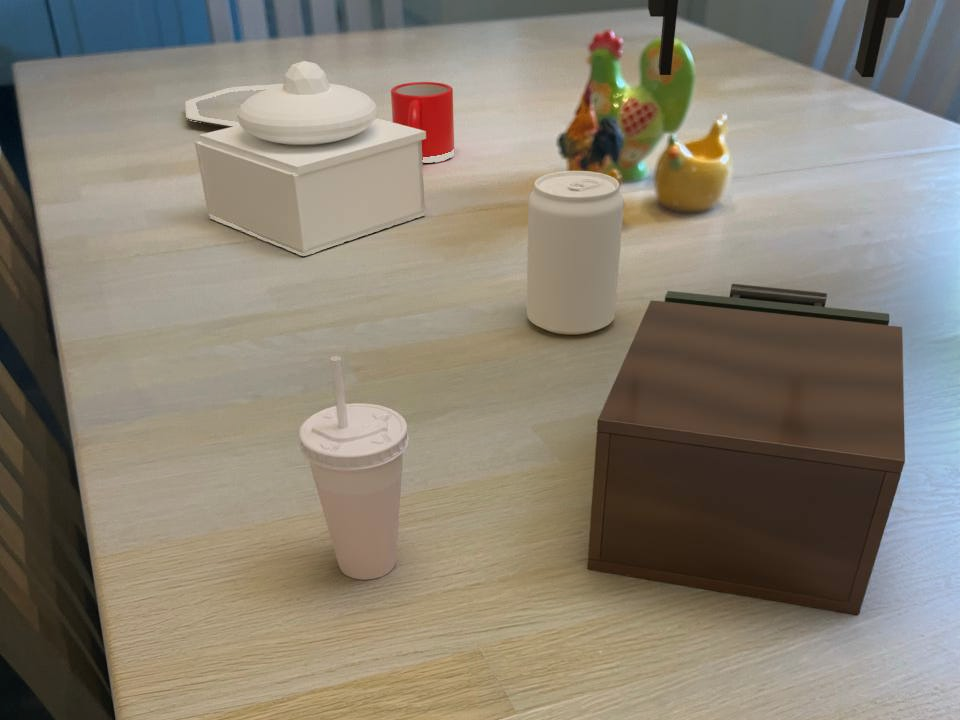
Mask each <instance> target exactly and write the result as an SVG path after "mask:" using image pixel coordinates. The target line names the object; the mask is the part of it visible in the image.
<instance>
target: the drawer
mask: <svg viewBox="0 0 960 720" xmlns="http://www.w3.org/2000/svg"><path fill="white" fill-rule="evenodd" d="M827 297H828V293H827V292H821V291H811V290H801V289H790V288H782V287H770V286H763V285H762V286H761V285H752V284H751V285H750V284H742V283H731V286H730V291H729V296H721V295H711V294H703V293H692V292H684V291H683V292H682V291H674V290H673V291H672V290H667V292H666V294H665V296H664V302H672V303H682V304H691V305H701V306H710V307H719V308H729V309H738V310H748V311H757V312H766V313H776V314H785V315H795V316H804V317H814V318H823V319H832V320H842V321H851V322H861V323H870V324H879V325H889V326H890V313H885V312H875V311H866V310H857V309H848V308H837V307H827V306H826V302H827Z"/></svg>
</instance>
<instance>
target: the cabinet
mask: <svg viewBox="0 0 960 720" xmlns="http://www.w3.org/2000/svg"><path fill="white" fill-rule="evenodd" d="M903 337H904V336H903V326H897V325H890V324H889V325H879V324H870V323H861V322H851V321H842V320H832V319H823V318H814V317H804V316H795V315H785V314H776V313H766V312H757V311H748V310H738V309H729V308H719V307H710V306H701V305H691V304H682V303H672V302H665V301H662V300H650V301H649V303H648V305H647V308H646V310H645V312H644V315H643V317H642V319H641V321H640V324H639V326H638V329H637V330H636V333H635V335H634V337H633V339H632V342H631V343H630V346H629V348H628V351H627V353H626V355H625V357H624V359H623V361H622V364H621V366H620V369H619V371H618V373H617V375H616V377H615V379H614V382H613V384H612V387H611V389H610V391H609V394H608V396H607V398H606V400H605V402H604V404H603V407H602V409H601V411H600V414H599V415H598V417H597V423H596V436H595V451H594V466H593V477H592V478H593V480H592V493H591V508H590V509H591V510H590V523H589V537H588V549H587V564H586V568H587V569H588V570H592V571H598V572H604V573H610V574H615V575H622V576H628V577H633V578H638V579H639V578H640V579H645V580H652V581H657V582H664V583H669V584H673V585H674V584H675V585H681V586H686V587H693V588H697V589H703V590H710V591H716V592H720V593H721V592H722V593H727V594H732V595H740V596H744V597H745V596H746V597H751V598H757V599H763V600H769V601H775V602H781V603H787V604H792V605H797V606H798V605H799V606H802V607H803V606H804V607H810V608H816V609H821V610H828V611H832V612H833V611H834V612H839V613H845V614H851V615H857V616H858V615H860V613H861V609H862V606H863V602H864V599H865V595H866V593H867V589H868V586H869V583H870V579H871V576H872V573H873V571H874V566H875V563H876V559H877V556H878V554H879V549H880V546H881V543H882V539H883V536H884V532H885V530H886V527H887V522H888V520H889V516H890V513H891V510H892V505H893V503H894V499H895V496H896V493H897V490H898V487H899V483H900V480H901V476H902V472H903V470H904V466H905V464H906V445H905V444H906V443H905V442H906V440H905V439H906V438H905V393H904V391H905V389H904V342H903V341H904V338H903Z"/></svg>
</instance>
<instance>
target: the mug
mask: <svg viewBox="0 0 960 720" xmlns="http://www.w3.org/2000/svg"><path fill="white" fill-rule="evenodd" d="M390 101H391V103H390V104H391V117H392V118H391V119H392V122H393V123H397V124H401V125H404V126H408V127H412V128H416V129H419V130H423V131H426V139H423V140H421V141H422V160H423V157H430V156H437V155H442V154H445V153H448V152H451V151H452V150H453V149H454V150H455V126H454V125H455V124H454V123H455V122H454V121H455V119H454V89H453V86H451V85H449V84H446V83H442V82H437V81H435V82H434V81H415V82H414V81H413V82H407V83H401V84H398V85H395V86H394V87H392V88H391V89H390Z"/></svg>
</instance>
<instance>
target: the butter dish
mask: <svg viewBox="0 0 960 720" xmlns="http://www.w3.org/2000/svg"><path fill="white" fill-rule="evenodd" d="M282 84H283V85H281V86H277V87H273V88H270V89H266V90H264V91H261V92H259V93H257V94H255V95H253V96H251V97H250V98H248V99H247V100H246V101H245V102H244V103H243V104H241V106H240V108H239V109H238V112H237V120H238V122H239V124H240V125H238V126H234V127H230V128H222V129H218V130H213V131H210V132H205V133H201V134H199V140H197V141H194V145H195V152H196V157H197V162H198V167H199V173H200V178H201V184H202V190H203V194H204V199H205V200H204V201H205V205H206V211H207V214H208V213H209V214H212V215H214V216H216V217H219V218H221V219H223V220H225V221H227V222H230V223H233V224H235V225H237V226H239V227H241V228H243V229H245V230H247V231H251V232H253V233H255V234H257V235H259V236H261V237H263V238H266V239H269V240H271V241H274V242H276V243H278V244H281V245H283V246H286V247H289V248H291V249H293V250H296V251H298V252H301V253H305V252H308V251H311V250H313V249H316V248H319V247H322V246H326V245H329V244H332V243H336V242H339V241H342V240H345V239H349V238H351V237H354V236H357V235H361V234H363V233H367V232H369V231H372V230H376V229H378V228H381V227H383V226H387V225H390V224H392V223H395V222H399V221H401V220H404V219H407V218H409V217H413V216H415V215H418V214H421V213H424V212H425V213H426V210H425V209H426V205H425V186H424V183H425V182H424V167H423V166H424V164H423V162H422V141H421V140H423V139H426V131H423V130H419V129H416V128H412V127H408V126H404V125H401V124H397V123H393V121H389V120H386V119H382V118H378V117H377V116H378V107H377V104H376V102H374V100H373V99H372V98H371V97H370V96H369V95H367V94H365V93H364V92H362V91H360V90H359V89H356V88H352V87H350V86H346V85H342V84H337V83H330V82H329V79H328V76H327V73H326V72H325V71H324V70H323V69H322V68H321V67H320V66H319V65H318V64H317V63H315V62H310V61H306V60H302V61H299V62H296V63H293V64H291V66H290V67H289V68H288V70H287V71H286V73H285V74H284V78H283V83H282ZM209 214H208V215H209Z"/></svg>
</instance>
